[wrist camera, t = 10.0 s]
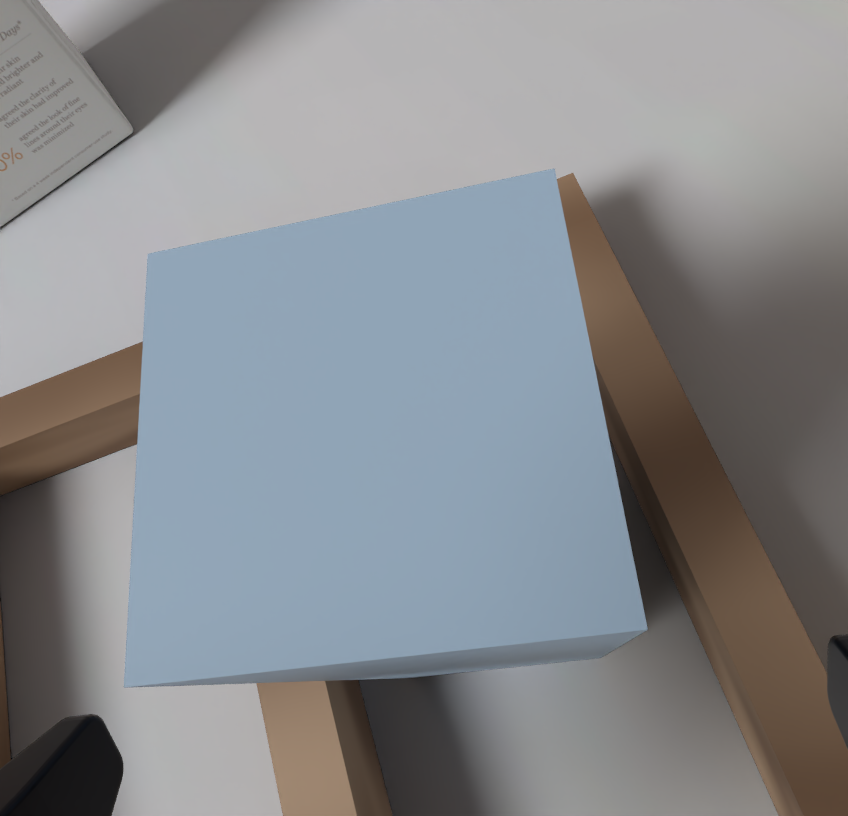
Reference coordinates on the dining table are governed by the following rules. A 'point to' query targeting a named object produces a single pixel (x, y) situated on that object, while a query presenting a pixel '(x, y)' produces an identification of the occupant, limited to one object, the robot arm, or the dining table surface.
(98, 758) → the robot arm
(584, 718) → the dining table surface
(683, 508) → the comb rack
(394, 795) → the dining table surface
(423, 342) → the pale blue tall block
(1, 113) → the small box
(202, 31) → the dining table surface
